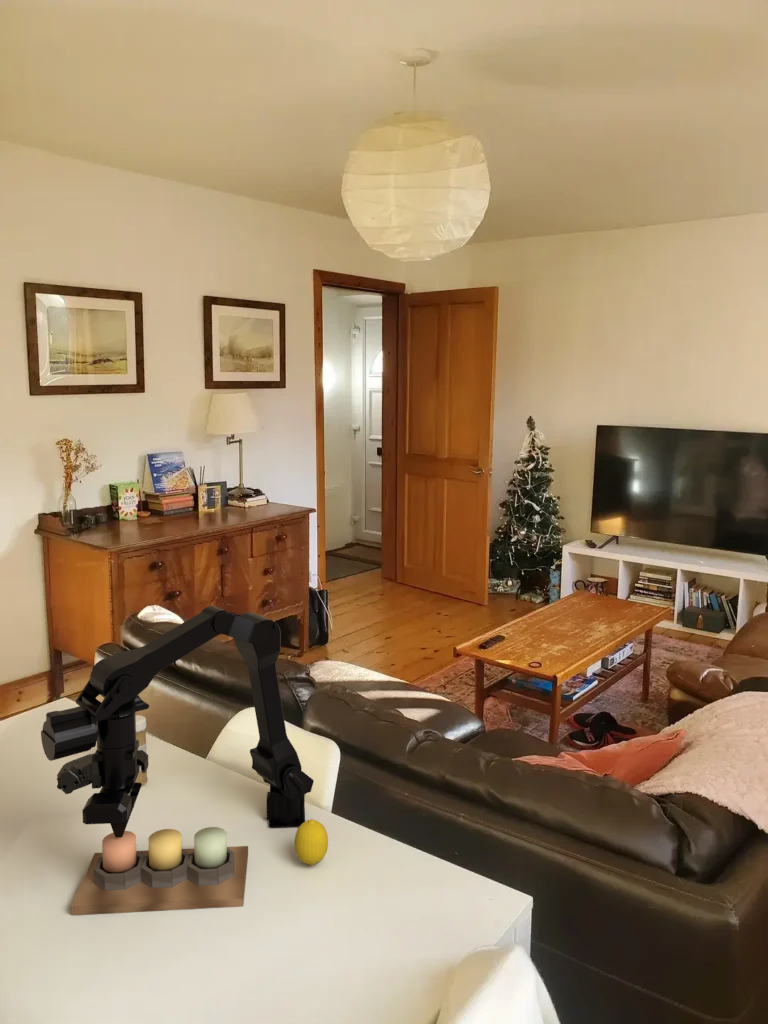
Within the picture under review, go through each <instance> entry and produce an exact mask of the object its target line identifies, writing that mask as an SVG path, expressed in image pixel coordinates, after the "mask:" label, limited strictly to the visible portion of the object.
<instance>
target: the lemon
mask: <svg viewBox="0 0 768 1024" xmlns="http://www.w3.org/2000/svg"><path fill="white" fill-rule="evenodd" d="M328 846H329V837H328V832H327V829H326V827H325V825H324V824H323V823H322V822H320V821H318V820H316V819H313V818H310V819H308V820H305V822H303V823H302V824H301V825H300V826H299V827H297V830H296V832H295V836H294V851H295V854H296V856H297V858H298V860H299V861H301V862H302V863H304V864H307V865H308V866H311V867H312V866H313V865H314V864H315V865H316V864H318V863H320V862H321V861H322V860H323V859H324V858H325V856H326V854H327V853H328Z"/></svg>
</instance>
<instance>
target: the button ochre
mask: <svg viewBox="0 0 768 1024" xmlns="http://www.w3.org/2000/svg"><path fill="white" fill-rule="evenodd" d="M182 839H183V838H182V833H181V832H180V831H179V830H178V829H177V830H176V829H174V828H165V829H164V828H163V829H159V830H157V831H154V832H153V833H152V834H150V835H149V837H148V850H149V865H150V867H151V868H153V869H155V870H169V869H172V868H174V867H176V866H178V865H179V864H180V863H181V861H182V849H183V846H182V845H183V844H182Z"/></svg>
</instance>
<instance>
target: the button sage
mask: <svg viewBox="0 0 768 1024" xmlns="http://www.w3.org/2000/svg"><path fill="white" fill-rule="evenodd" d="M227 837H228V835H227V831H226V830H225V829H223V828H221V827H218V826H208V827H204V828H202V829H199V830H198V831H197V832H196V833H194V836H193V843H194V847H193V848H194V856H195V864H196V865H197V866H199V867H202V868H214V867H217V866H220V865H222V864H223V863H224V862H225V861H226V859H227V847H228V845H227V844H228V843H227V842H228V841H227Z"/></svg>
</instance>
